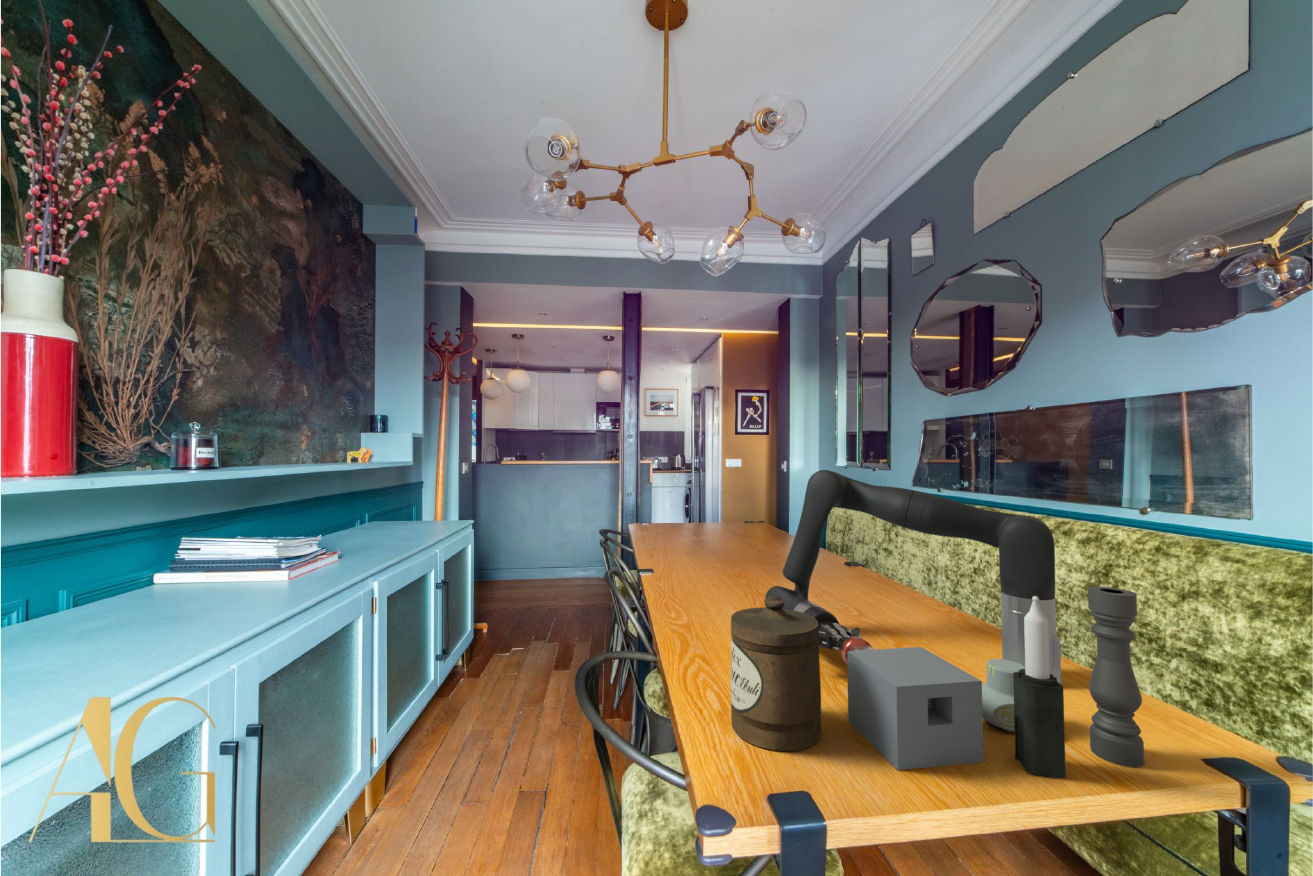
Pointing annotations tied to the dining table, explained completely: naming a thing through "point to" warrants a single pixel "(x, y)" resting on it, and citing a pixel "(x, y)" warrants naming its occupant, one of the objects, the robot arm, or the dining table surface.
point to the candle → (1038, 704)
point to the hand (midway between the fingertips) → (854, 650)
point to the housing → (915, 707)
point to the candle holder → (1114, 678)
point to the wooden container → (775, 677)
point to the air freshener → (999, 693)
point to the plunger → (860, 644)
